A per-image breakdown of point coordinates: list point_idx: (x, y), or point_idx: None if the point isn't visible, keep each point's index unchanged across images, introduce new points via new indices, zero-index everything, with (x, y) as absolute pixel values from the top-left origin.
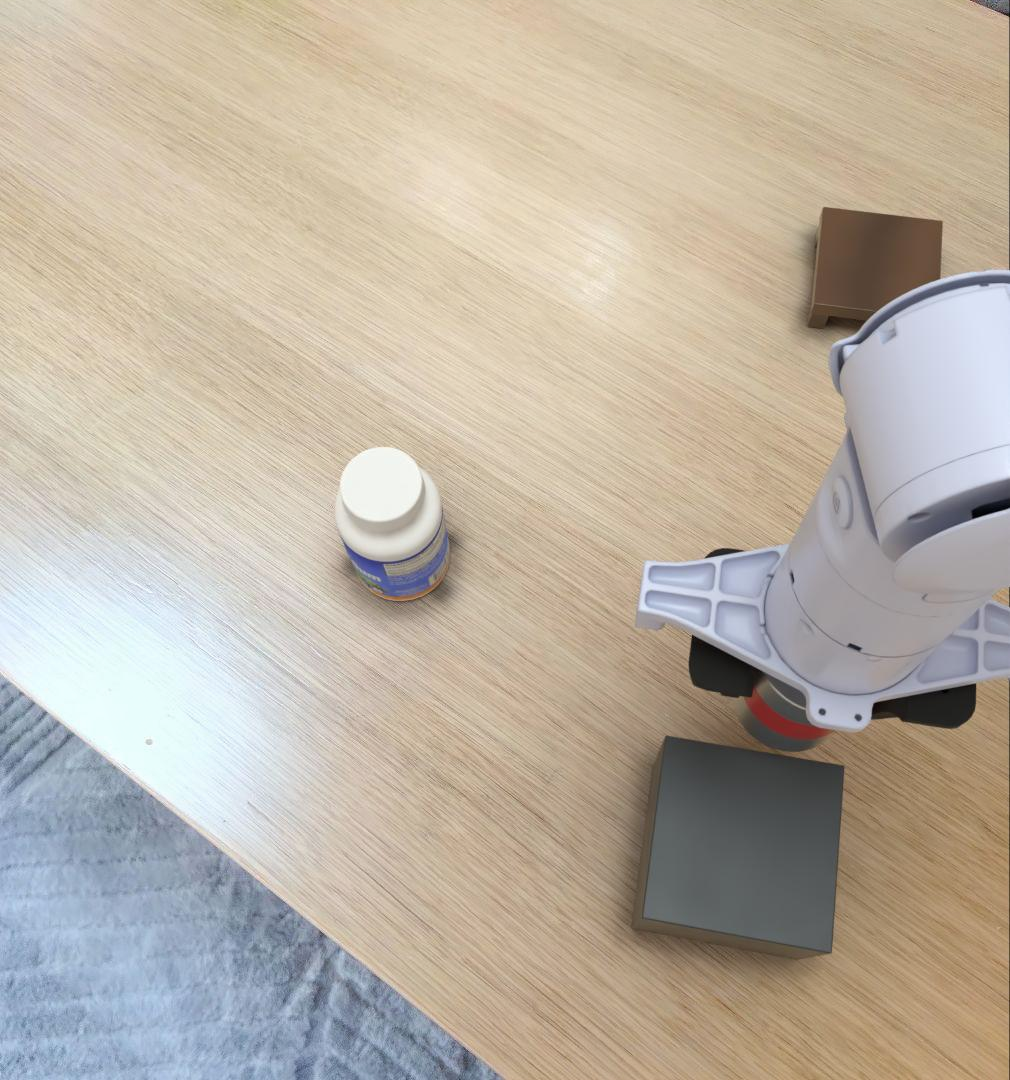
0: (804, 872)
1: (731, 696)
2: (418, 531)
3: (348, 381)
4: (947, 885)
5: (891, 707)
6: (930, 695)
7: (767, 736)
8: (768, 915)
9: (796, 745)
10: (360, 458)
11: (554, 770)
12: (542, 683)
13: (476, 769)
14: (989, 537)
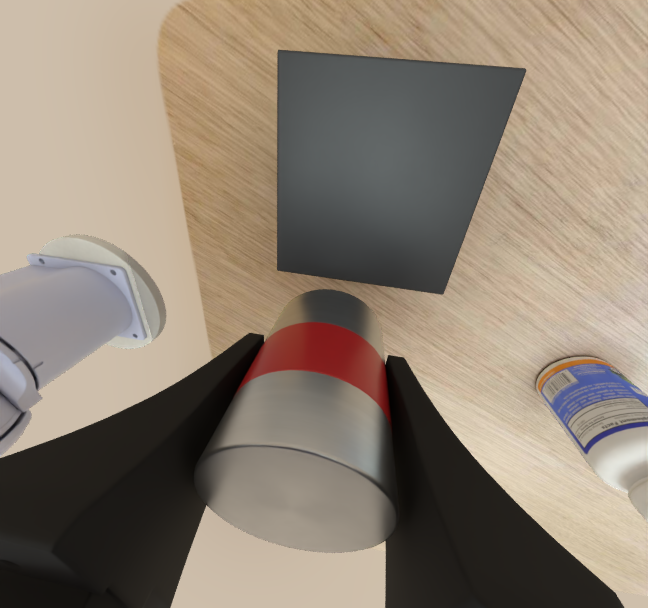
0: (311, 159)
1: (401, 371)
2: (637, 454)
3: (569, 461)
4: (211, 173)
5: (169, 443)
6: (28, 564)
7: (353, 313)
8: (353, 97)
9: (322, 304)
10: None
11: (496, 243)
12: (490, 303)
13: (564, 241)
14: None
